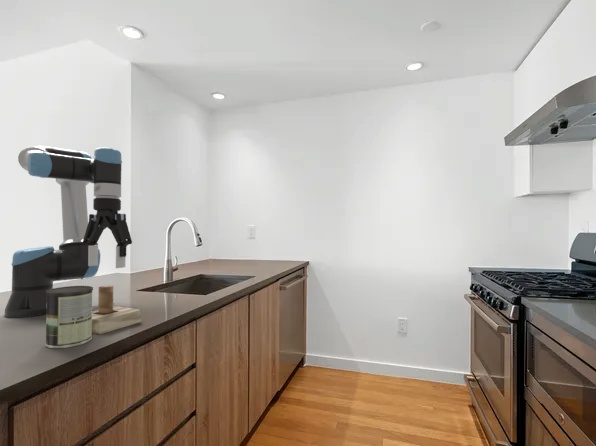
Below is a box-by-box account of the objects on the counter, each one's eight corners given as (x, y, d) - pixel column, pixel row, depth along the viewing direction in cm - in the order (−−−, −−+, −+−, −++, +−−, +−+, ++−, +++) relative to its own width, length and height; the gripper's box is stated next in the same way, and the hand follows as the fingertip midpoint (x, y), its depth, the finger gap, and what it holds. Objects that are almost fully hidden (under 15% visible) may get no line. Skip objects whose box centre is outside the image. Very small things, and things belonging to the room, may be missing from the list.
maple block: (72, 329, 99) (72, 315, 100) (115, 317, 112) (115, 306, 112) (99, 334, 95) (99, 320, 95) (140, 322, 107) (140, 309, 107)
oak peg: (107, 322, 107) (107, 285, 107) (116, 324, 105) (116, 286, 105) (94, 326, 103) (95, 287, 103) (103, 327, 101) (104, 288, 101)
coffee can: (35, 349, 83) (36, 292, 83) (61, 336, 93) (62, 285, 93) (78, 348, 84) (79, 292, 84) (99, 335, 94) (100, 285, 94)
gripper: (70, 198, 106) (69, 265, 106) (123, 195, 96) (122, 270, 96) (93, 200, 113) (92, 263, 113) (145, 197, 103) (144, 267, 103)
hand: (106, 266), depth 104 cm, fingers open, 12 cm apart
